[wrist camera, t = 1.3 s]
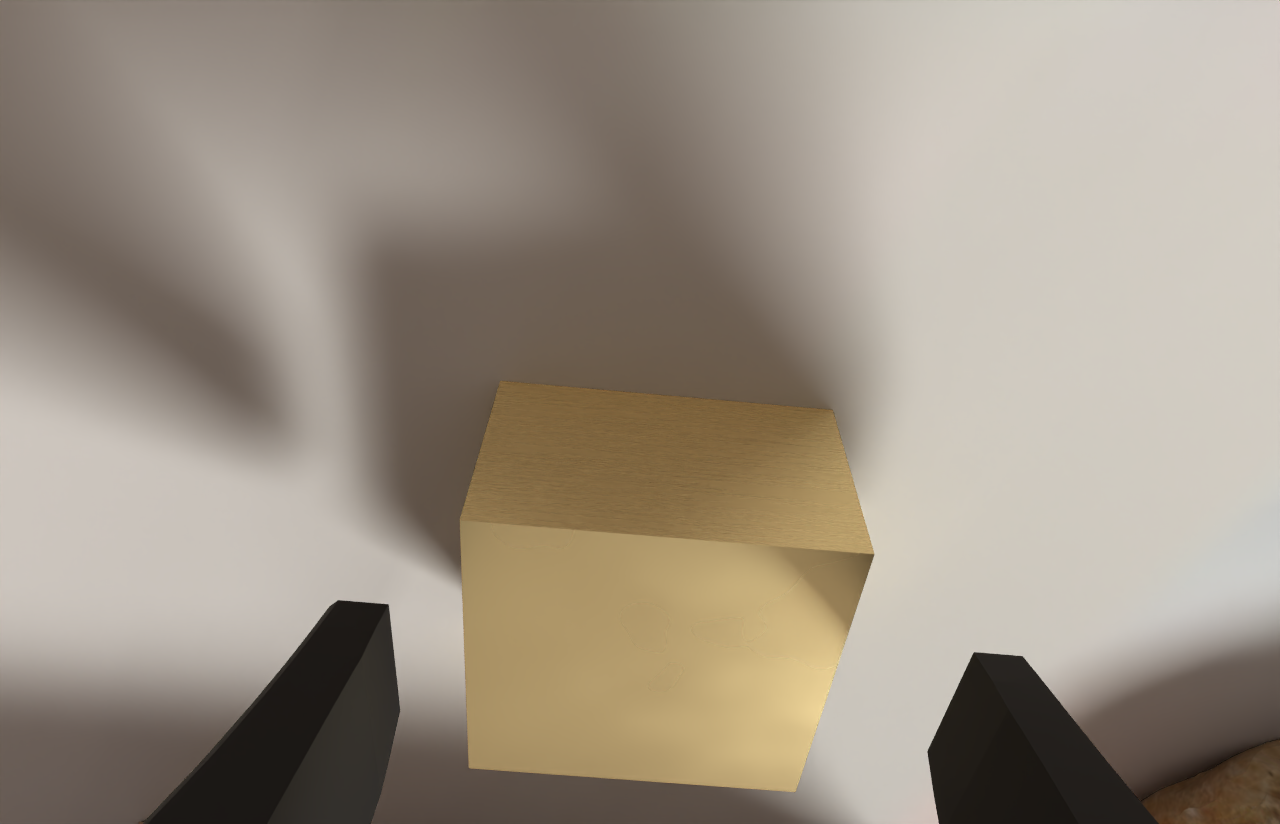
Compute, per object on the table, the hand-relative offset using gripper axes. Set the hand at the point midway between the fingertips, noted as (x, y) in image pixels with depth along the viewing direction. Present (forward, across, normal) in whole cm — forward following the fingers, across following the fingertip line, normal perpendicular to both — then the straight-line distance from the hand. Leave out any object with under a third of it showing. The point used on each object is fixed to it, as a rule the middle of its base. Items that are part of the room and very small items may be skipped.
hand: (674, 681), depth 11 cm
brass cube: (+3, 0, 0) cm, 3 cm away
